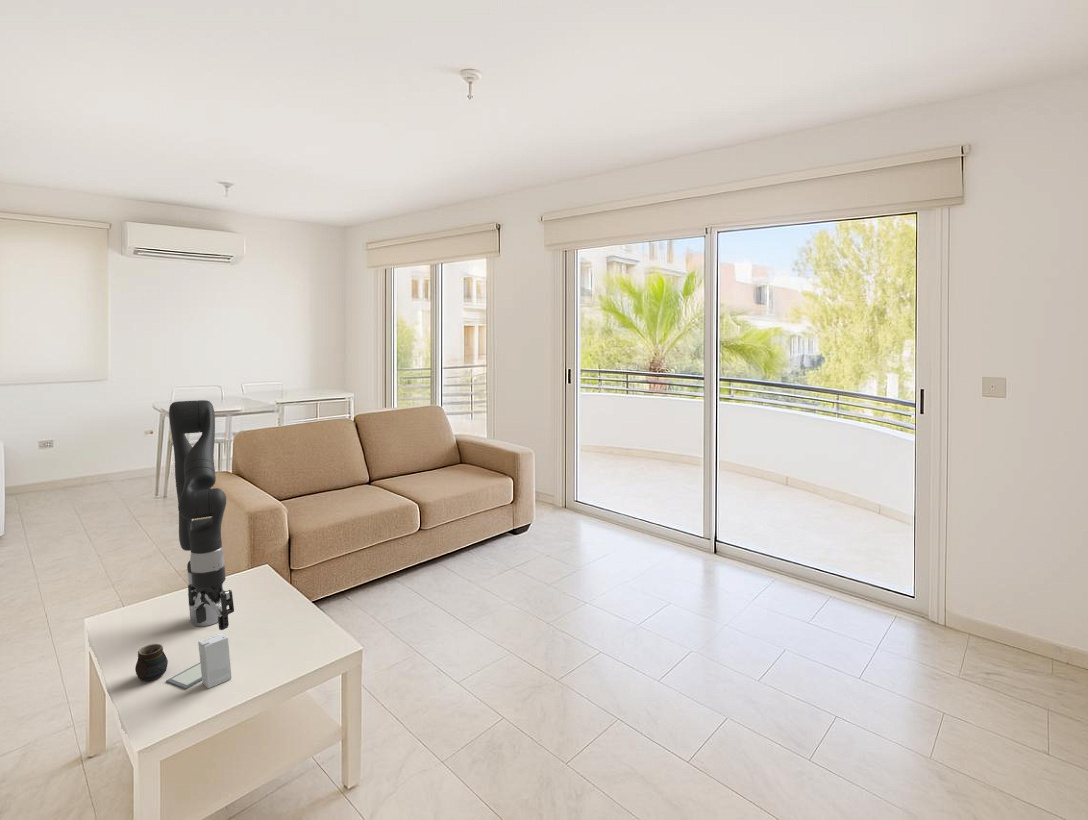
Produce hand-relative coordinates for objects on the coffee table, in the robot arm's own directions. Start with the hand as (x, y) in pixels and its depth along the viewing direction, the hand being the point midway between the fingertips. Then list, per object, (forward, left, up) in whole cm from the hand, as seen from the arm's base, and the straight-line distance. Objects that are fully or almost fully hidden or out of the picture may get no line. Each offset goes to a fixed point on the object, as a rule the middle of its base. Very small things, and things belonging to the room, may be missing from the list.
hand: (212, 625), depth 155 cm
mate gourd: (-18, -5, -16) cm, 25 cm away
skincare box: (-1, 0, -16) cm, 16 cm away
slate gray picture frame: (-9, 0, -16) cm, 18 cm away
